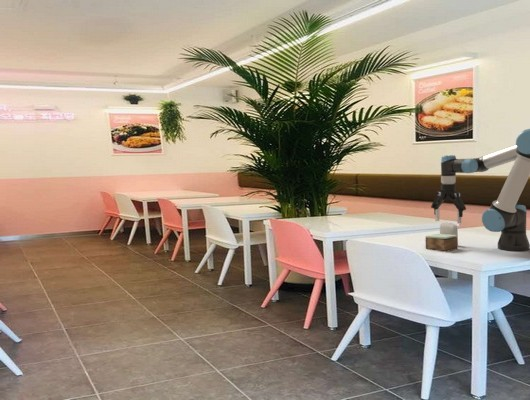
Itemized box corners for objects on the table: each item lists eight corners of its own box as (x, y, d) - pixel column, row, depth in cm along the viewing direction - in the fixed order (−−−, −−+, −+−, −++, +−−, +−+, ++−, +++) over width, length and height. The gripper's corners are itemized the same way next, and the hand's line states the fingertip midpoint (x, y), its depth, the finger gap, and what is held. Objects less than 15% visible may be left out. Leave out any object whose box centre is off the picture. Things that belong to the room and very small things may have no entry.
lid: (457, 236, 267) (457, 235, 267) (445, 239, 261) (445, 237, 261) (437, 235, 277) (437, 233, 277) (425, 237, 270) (425, 236, 270)
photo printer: (438, 244, 283) (438, 222, 282) (444, 243, 285) (443, 221, 284) (453, 246, 274) (453, 224, 273) (459, 245, 276) (458, 223, 275)
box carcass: (457, 248, 268) (457, 237, 267) (445, 251, 261) (445, 240, 261) (438, 246, 277) (437, 235, 277) (425, 248, 271) (425, 237, 270)
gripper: (473, 183, 269) (472, 223, 271) (432, 182, 289) (432, 219, 291) (465, 184, 265) (464, 224, 267) (424, 183, 285) (424, 220, 287)
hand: (448, 222), depth 279 cm, fingers open, 13 cm apart
